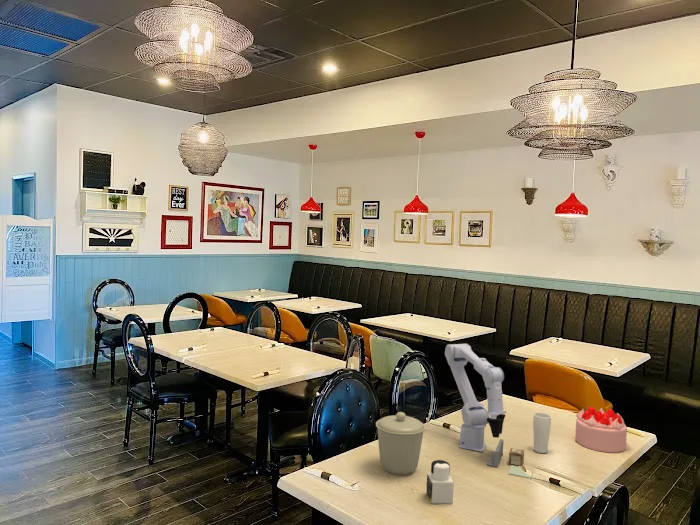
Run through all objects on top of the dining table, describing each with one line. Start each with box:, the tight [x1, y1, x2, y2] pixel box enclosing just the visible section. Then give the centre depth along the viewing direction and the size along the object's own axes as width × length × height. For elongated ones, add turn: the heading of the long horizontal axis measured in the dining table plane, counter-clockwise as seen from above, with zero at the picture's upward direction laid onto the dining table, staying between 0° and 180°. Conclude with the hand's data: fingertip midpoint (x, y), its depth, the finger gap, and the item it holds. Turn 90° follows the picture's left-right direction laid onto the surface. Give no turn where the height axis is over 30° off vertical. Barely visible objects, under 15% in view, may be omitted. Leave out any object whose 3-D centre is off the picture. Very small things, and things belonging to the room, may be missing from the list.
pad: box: [507, 465, 533, 480], centre depth 196 cm, size 8×8×1 cm
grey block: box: [486, 438, 505, 469], centre depth 207 cm, size 4×14×6 cm, turn 156°
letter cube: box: [508, 447, 525, 466], centre depth 203 cm, size 5×5×5 cm
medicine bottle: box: [426, 459, 454, 504], centre depth 174 cm, size 7×7×12 cm
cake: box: [574, 406, 628, 454], centre depth 228 cm, size 20×20×14 cm
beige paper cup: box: [532, 412, 552, 454], centre depth 217 cm, size 7×7×15 cm
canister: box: [375, 411, 426, 476], centre depth 195 cm, size 18×18×21 cm
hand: (497, 435), depth 205 cm, fingers open, 7 cm apart
